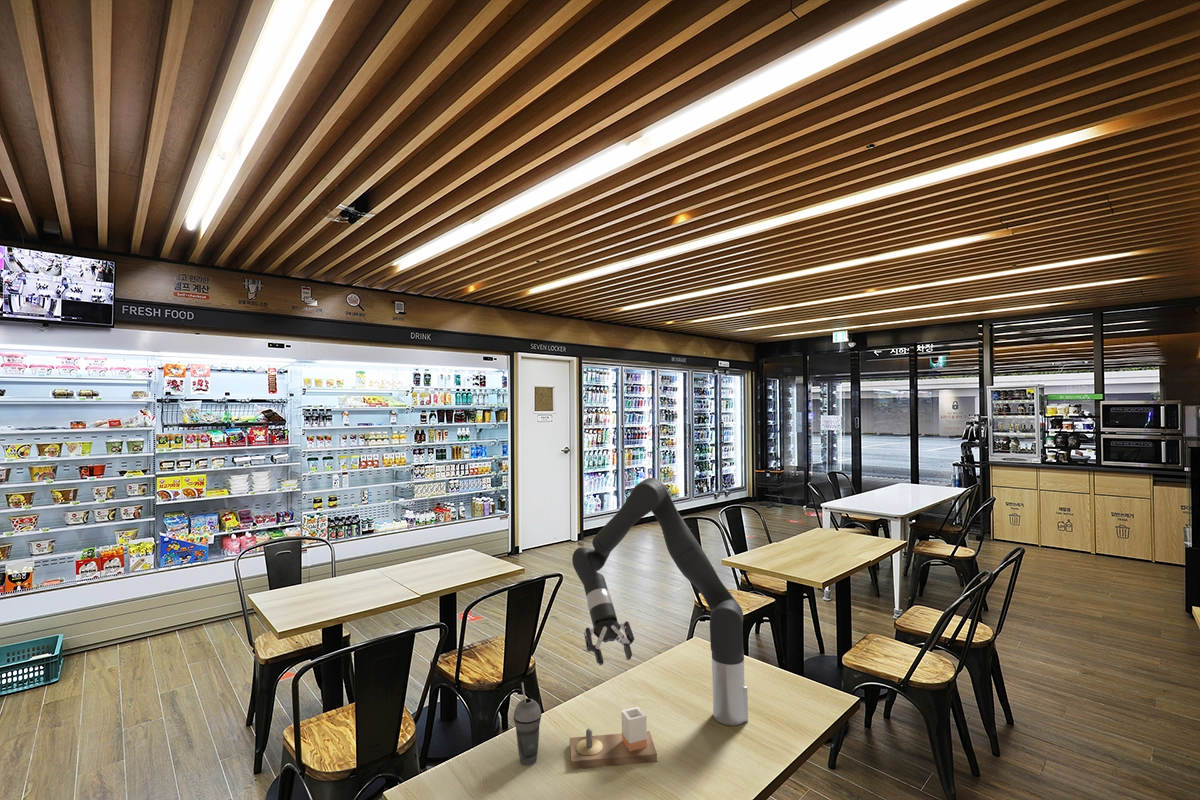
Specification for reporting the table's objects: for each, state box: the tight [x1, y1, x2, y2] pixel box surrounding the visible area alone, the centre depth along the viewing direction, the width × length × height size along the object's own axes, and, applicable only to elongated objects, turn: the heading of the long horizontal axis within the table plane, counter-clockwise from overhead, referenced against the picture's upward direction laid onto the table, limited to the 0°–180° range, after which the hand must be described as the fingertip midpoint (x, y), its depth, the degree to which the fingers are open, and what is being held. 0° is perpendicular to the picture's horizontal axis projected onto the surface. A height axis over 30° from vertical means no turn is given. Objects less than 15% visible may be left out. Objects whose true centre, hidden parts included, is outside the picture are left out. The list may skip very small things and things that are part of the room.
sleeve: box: [621, 706, 648, 751], centre depth 145 cm, size 5×5×8 cm
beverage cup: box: [512, 682, 542, 767], centre depth 143 cm, size 7×7×20 cm
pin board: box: [569, 728, 658, 770], centre depth 145 cm, size 22×10×7 cm, turn 96°
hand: (615, 661), depth 157 cm, fingers open, 8 cm apart
